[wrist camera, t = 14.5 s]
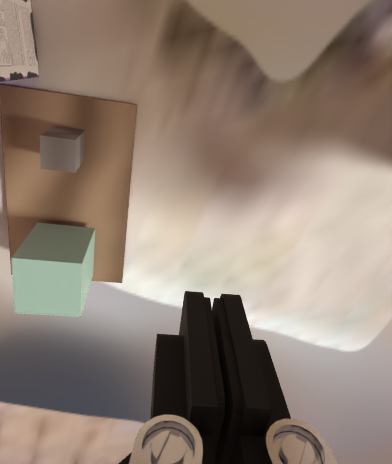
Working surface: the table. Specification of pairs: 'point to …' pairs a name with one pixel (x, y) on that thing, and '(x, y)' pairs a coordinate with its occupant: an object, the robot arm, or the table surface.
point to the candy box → (17, 41)
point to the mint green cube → (53, 270)
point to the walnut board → (69, 188)
